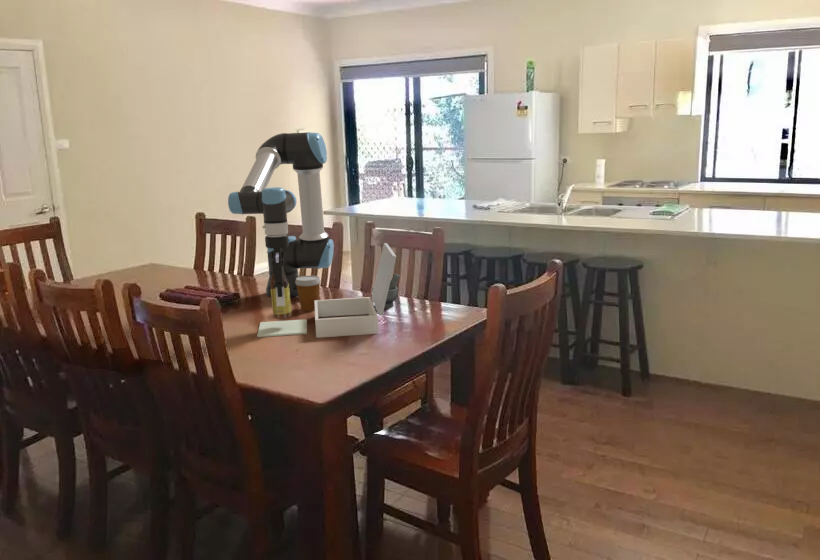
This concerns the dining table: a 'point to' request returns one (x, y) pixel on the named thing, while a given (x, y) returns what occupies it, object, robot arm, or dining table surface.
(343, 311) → the case
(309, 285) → the disposable coffee cup
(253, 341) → the dining table surface
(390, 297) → the mortar and pestle
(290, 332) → the mat
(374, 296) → the case lid
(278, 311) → the sauce bottle
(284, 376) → the dining table surface
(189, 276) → the dining table surface
